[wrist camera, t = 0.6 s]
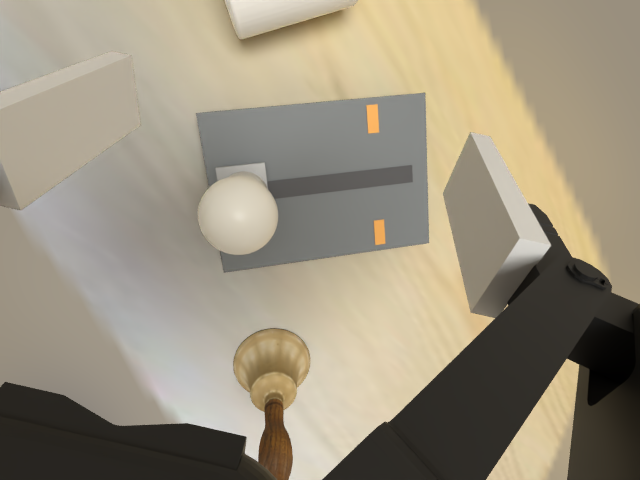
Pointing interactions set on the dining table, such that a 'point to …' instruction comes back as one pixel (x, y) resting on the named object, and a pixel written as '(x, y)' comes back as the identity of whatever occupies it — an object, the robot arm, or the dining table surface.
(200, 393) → the dining table surface
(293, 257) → the console
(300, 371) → the hand bell
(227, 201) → the lever
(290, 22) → the mug
